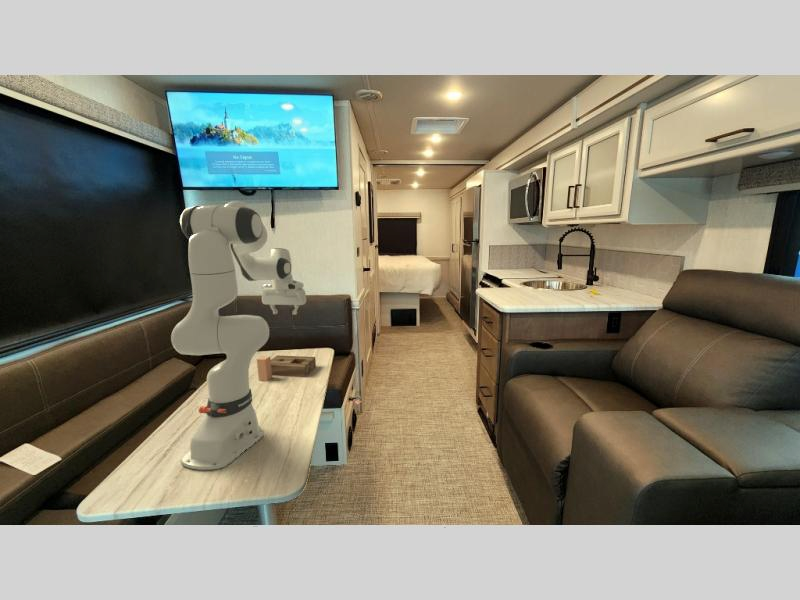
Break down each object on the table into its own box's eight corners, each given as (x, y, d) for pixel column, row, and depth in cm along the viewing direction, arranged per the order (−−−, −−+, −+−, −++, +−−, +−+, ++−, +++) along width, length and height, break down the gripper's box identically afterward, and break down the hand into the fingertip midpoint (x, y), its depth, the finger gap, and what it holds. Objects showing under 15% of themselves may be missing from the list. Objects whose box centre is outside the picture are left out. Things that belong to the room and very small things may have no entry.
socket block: (305, 376, 142) (304, 366, 141) (264, 374, 144) (263, 364, 144) (315, 366, 153) (315, 356, 152) (278, 364, 156) (277, 354, 155)
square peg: (267, 381, 138) (265, 359, 136) (258, 380, 139) (256, 359, 137) (272, 377, 142) (270, 356, 140) (264, 376, 142) (262, 356, 141)
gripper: (257, 285, 139) (260, 315, 142) (300, 285, 137) (302, 316, 139) (265, 283, 145) (267, 311, 148) (306, 283, 143) (308, 313, 145)
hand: (285, 314), depth 144 cm, fingers open, 8 cm apart
